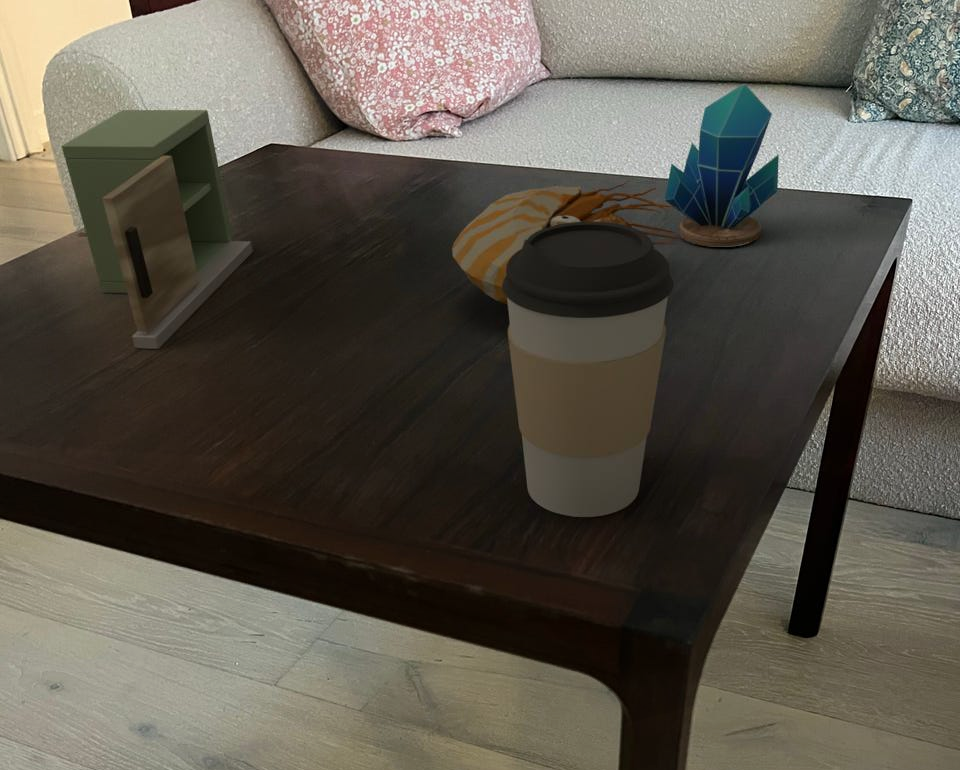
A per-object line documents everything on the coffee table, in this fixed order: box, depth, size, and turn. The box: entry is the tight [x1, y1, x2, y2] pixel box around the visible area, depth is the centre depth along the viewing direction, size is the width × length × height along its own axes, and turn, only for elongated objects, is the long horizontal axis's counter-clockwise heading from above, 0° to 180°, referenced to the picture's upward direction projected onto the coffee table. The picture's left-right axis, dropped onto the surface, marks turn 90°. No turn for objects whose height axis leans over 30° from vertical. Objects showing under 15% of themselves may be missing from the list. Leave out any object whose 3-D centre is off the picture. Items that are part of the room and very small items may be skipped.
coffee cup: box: [502, 222, 675, 518], centre depth 59 cm, size 9×9×15 cm
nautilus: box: [451, 179, 682, 306], centre depth 84 cm, size 8×22×15 cm
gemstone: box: [663, 83, 780, 247], centre depth 91 cm, size 7×9×12 cm
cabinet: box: [61, 109, 254, 350], centre depth 87 cm, size 10×22×12 cm, turn 169°
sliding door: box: [102, 156, 199, 332], centre depth 82 cm, size 1×10×10 cm, turn 169°
